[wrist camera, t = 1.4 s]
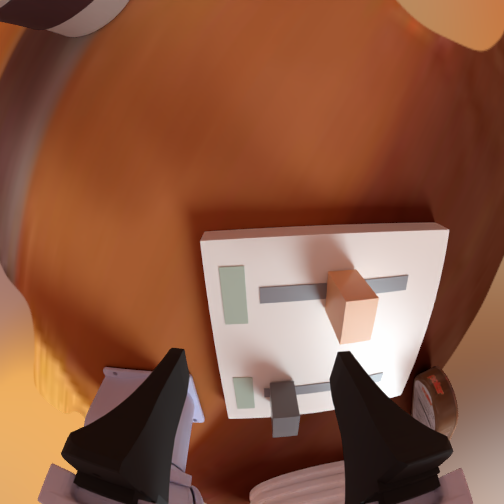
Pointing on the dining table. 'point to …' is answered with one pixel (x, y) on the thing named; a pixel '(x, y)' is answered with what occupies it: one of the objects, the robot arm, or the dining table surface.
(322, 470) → the plate stack
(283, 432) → the gray rectangular block
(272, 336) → the board
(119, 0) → the coffee cup
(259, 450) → the dining table surface
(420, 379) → the tin
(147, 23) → the dining table surface
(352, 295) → the switch
